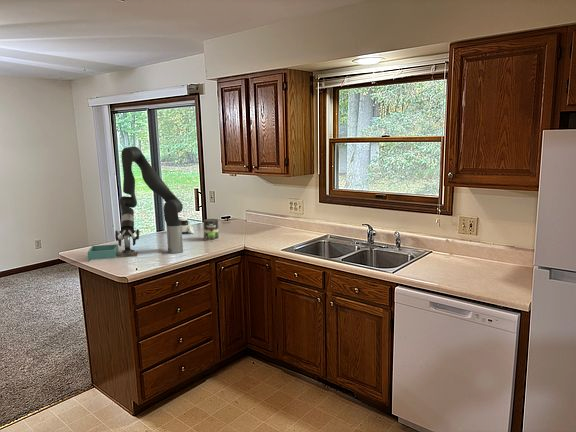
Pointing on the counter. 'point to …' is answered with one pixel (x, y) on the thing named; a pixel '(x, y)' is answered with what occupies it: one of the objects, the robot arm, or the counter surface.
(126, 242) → the tube
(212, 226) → the coffee can
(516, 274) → the counter surface
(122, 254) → the square framed wooden base
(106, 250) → the bin
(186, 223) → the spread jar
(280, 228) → the counter surface
